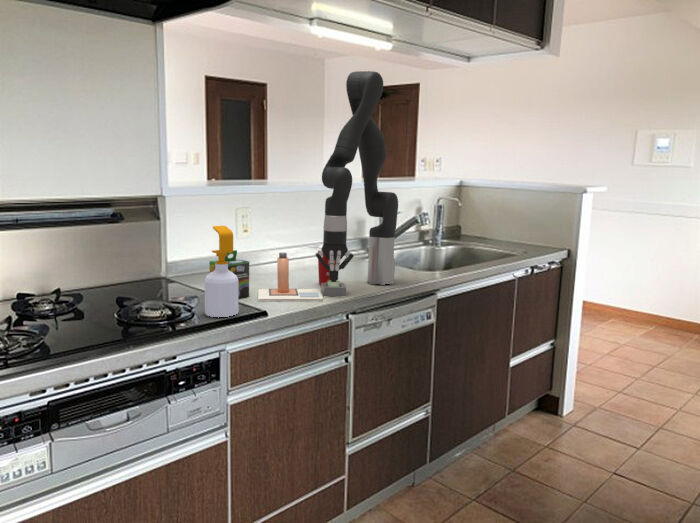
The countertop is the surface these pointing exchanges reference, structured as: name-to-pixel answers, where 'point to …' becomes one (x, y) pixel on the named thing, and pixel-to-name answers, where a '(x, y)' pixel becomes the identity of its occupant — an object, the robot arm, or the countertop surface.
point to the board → (290, 295)
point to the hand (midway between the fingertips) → (333, 281)
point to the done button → (333, 284)
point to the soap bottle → (222, 280)
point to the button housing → (333, 290)
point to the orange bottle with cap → (283, 273)
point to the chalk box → (237, 272)
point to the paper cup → (323, 268)
